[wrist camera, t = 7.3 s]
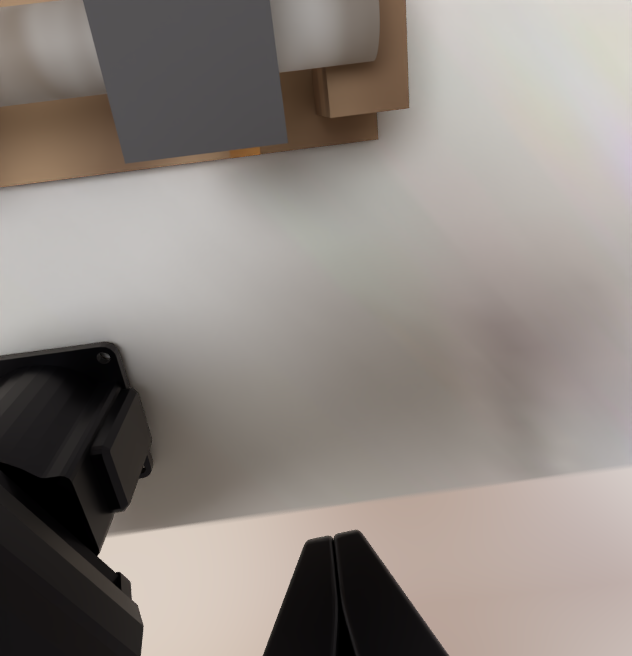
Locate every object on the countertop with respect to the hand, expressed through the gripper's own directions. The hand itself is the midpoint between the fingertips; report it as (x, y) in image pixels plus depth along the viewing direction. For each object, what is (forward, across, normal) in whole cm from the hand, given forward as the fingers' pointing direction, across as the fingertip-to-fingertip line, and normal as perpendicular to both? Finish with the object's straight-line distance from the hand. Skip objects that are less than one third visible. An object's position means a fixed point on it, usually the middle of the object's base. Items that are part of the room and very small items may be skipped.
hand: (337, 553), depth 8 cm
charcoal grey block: (+9, +1, -8) cm, 12 cm away
